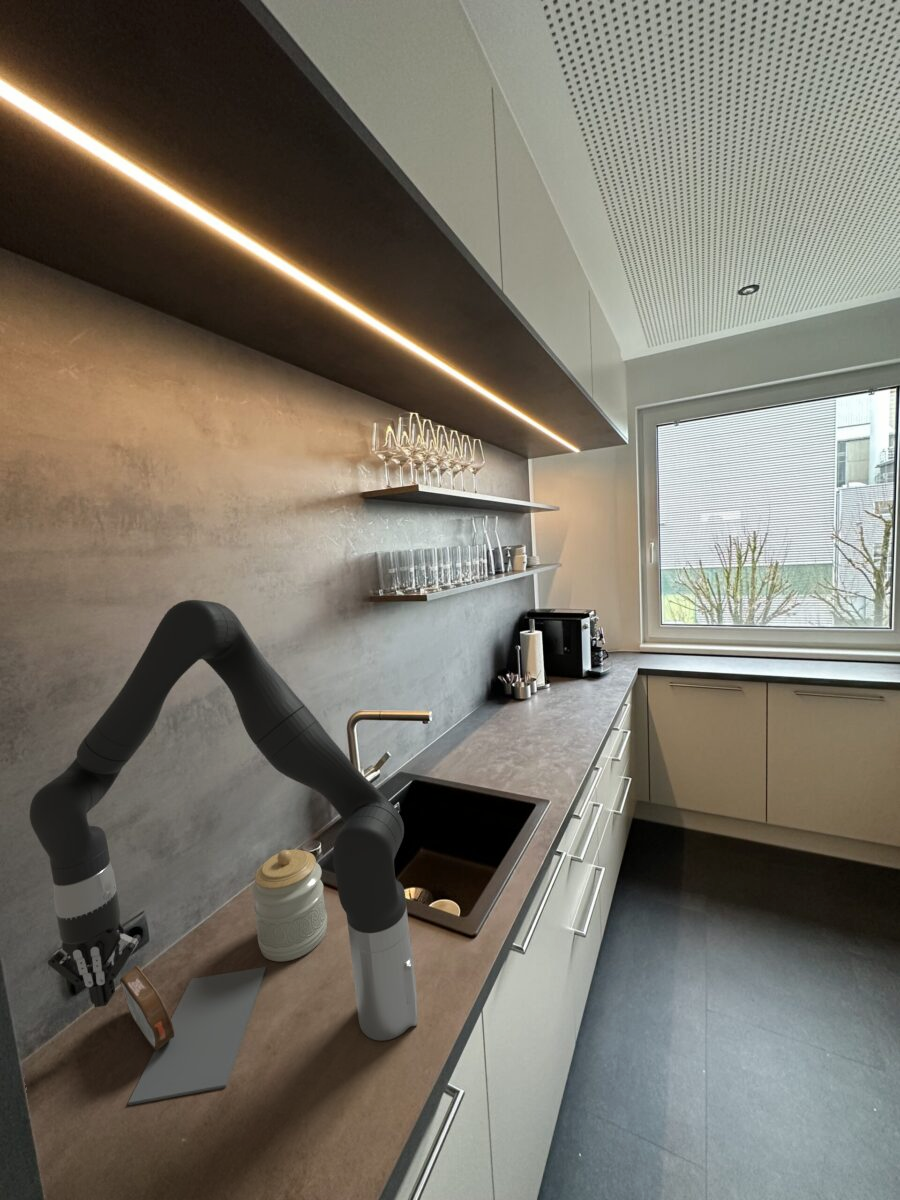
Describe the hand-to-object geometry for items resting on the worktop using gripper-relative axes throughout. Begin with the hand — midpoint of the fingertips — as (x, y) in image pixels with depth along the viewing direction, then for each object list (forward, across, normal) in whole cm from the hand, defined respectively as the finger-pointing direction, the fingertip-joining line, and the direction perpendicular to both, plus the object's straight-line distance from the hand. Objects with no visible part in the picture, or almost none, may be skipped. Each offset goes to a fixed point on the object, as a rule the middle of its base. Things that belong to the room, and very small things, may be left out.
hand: (103, 1001), depth 76 cm
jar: (+7, -25, -16) cm, 31 cm away
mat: (+6, -15, +1) cm, 17 cm away
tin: (+6, -6, 0) cm, 9 cm away
